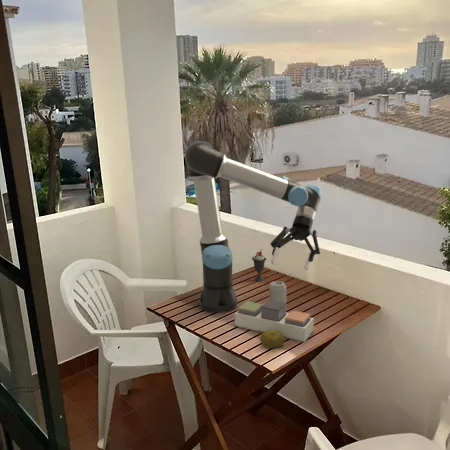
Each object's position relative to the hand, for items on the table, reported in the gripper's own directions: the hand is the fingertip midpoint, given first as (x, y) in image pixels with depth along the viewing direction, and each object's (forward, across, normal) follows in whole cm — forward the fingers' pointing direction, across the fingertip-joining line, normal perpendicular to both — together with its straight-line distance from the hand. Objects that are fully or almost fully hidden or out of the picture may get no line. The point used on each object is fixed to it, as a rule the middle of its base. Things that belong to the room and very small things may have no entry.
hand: (289, 265), depth 180 cm
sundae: (-3, +24, -28) cm, 37 cm away
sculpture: (+34, -7, +10) cm, 36 cm away
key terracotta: (+26, -12, +3) cm, 28 cm away
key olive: (+26, +6, +3) cm, 27 cm away
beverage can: (+17, +1, -7) cm, 19 cm away
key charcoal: (+24, -3, +5) cm, 25 cm away
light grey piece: (+26, -3, +2) cm, 27 cm away
